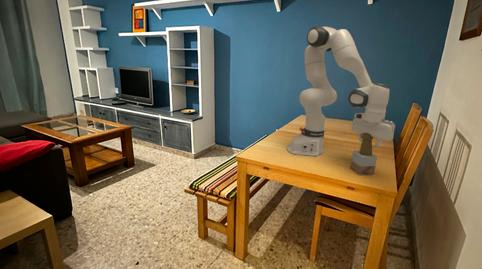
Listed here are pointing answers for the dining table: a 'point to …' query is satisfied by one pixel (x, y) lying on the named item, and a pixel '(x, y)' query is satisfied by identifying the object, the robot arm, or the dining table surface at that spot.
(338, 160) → the dining table surface
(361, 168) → the walnut block
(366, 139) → the cork
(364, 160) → the grey block
